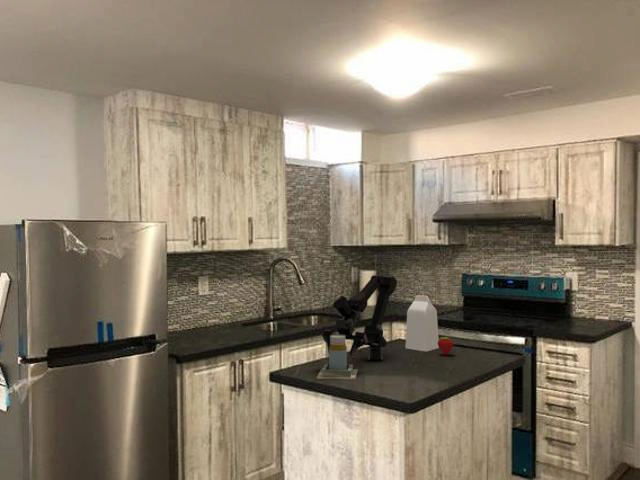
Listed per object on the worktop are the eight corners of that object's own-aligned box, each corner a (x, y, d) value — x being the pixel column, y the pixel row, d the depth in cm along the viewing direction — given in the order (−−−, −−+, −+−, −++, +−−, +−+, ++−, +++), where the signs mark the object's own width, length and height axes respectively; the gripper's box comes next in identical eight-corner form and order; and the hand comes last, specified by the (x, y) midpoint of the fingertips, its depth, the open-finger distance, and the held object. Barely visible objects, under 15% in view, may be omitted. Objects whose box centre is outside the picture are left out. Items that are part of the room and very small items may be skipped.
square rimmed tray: (321, 369, 238) (321, 362, 238) (357, 370, 236) (357, 363, 236) (316, 379, 224) (316, 371, 224) (354, 380, 222) (354, 372, 222)
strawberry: (450, 357, 261) (450, 335, 261) (435, 355, 265) (435, 334, 265) (455, 355, 266) (455, 333, 266) (440, 353, 270) (440, 332, 270)
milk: (405, 348, 282) (405, 295, 282) (418, 344, 291) (418, 293, 291) (426, 351, 274) (426, 297, 274) (439, 347, 283) (438, 295, 282)
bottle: (349, 372, 232) (349, 335, 232) (342, 376, 226) (341, 338, 225) (334, 370, 235) (334, 334, 235) (326, 374, 229) (326, 336, 229)
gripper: (322, 310, 240) (312, 341, 230) (365, 312, 233) (356, 344, 223) (329, 326, 247) (320, 357, 237) (371, 328, 240) (363, 360, 230)
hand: (339, 354), depth 232 cm, fingers open, 9 cm apart
